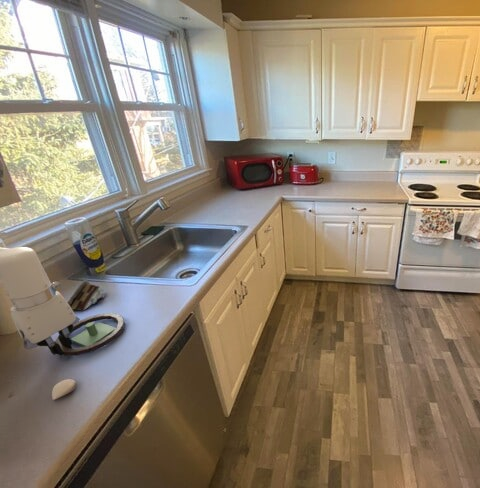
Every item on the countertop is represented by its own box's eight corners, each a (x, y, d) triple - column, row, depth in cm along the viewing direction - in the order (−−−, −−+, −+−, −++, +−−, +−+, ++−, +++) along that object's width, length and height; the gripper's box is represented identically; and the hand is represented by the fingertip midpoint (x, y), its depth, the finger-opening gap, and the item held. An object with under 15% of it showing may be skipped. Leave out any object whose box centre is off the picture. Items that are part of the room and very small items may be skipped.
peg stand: (71, 341, 81) (65, 330, 79) (100, 324, 88) (94, 312, 86) (89, 349, 79) (83, 337, 77) (117, 330, 85) (112, 319, 84)
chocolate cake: (84, 316, 92) (100, 280, 96) (61, 311, 91) (78, 276, 95) (100, 317, 101) (114, 285, 105) (79, 313, 100) (94, 280, 104)
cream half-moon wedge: (81, 383, 69) (77, 376, 68) (65, 402, 64) (60, 395, 63) (63, 384, 69) (59, 377, 68) (46, 403, 64) (41, 396, 63)
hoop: (43, 345, 79) (41, 342, 78) (102, 311, 92) (101, 308, 92) (80, 363, 74) (78, 359, 73) (136, 324, 87) (135, 320, 87)
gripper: (61, 277, 77) (85, 328, 85) (-19, 311, 63) (19, 368, 71) (78, 282, 74) (102, 335, 82) (-1, 319, 61) (36, 378, 69)
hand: (63, 350), depth 77 cm, fingers closed on hoop, 1 cm apart
